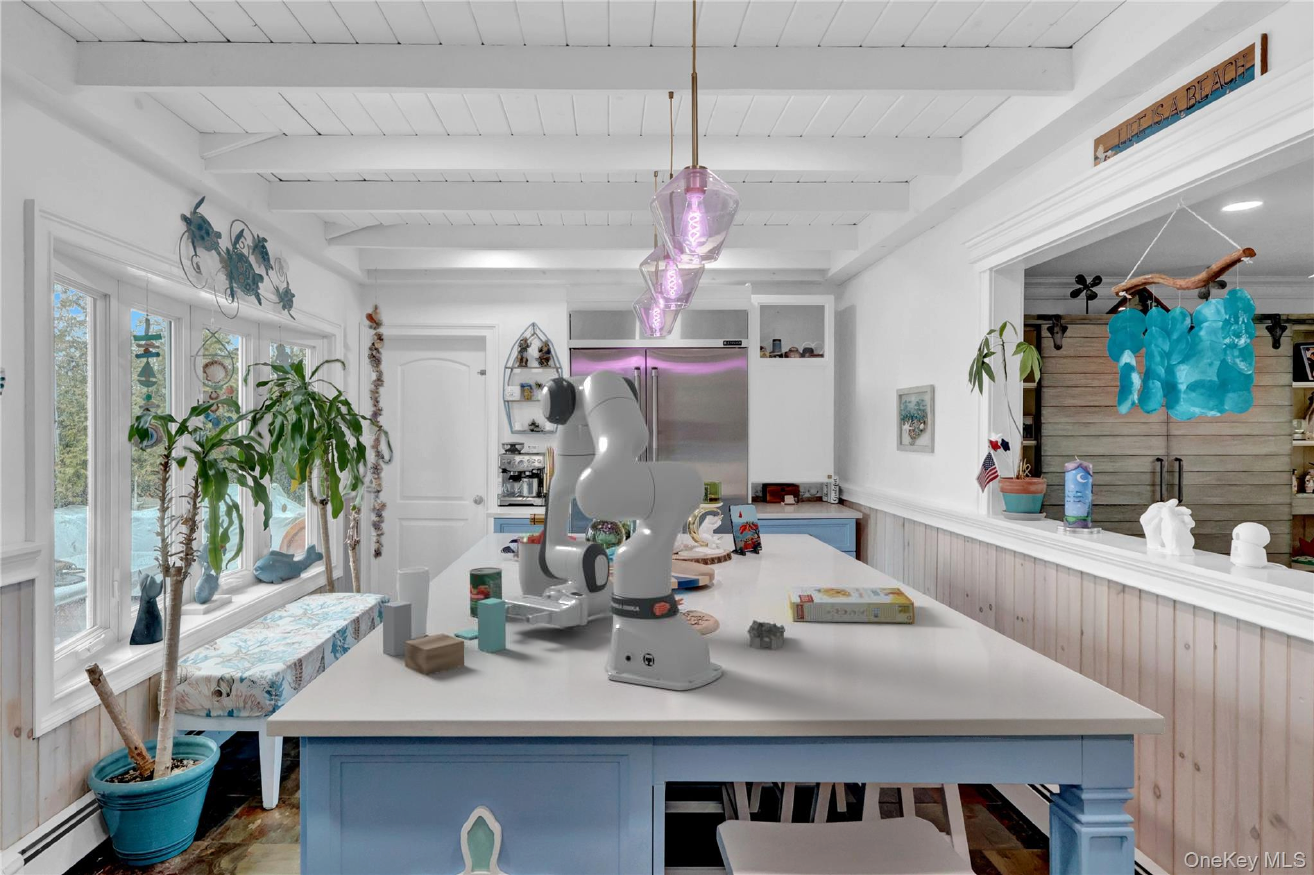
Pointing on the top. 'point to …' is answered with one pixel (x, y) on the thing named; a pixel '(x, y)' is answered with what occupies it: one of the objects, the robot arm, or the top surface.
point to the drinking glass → (415, 596)
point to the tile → (467, 634)
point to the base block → (434, 653)
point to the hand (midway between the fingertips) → (513, 617)
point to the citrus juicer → (533, 567)
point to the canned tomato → (484, 586)
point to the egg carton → (766, 635)
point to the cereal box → (850, 604)
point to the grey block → (396, 627)
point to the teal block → (491, 625)
